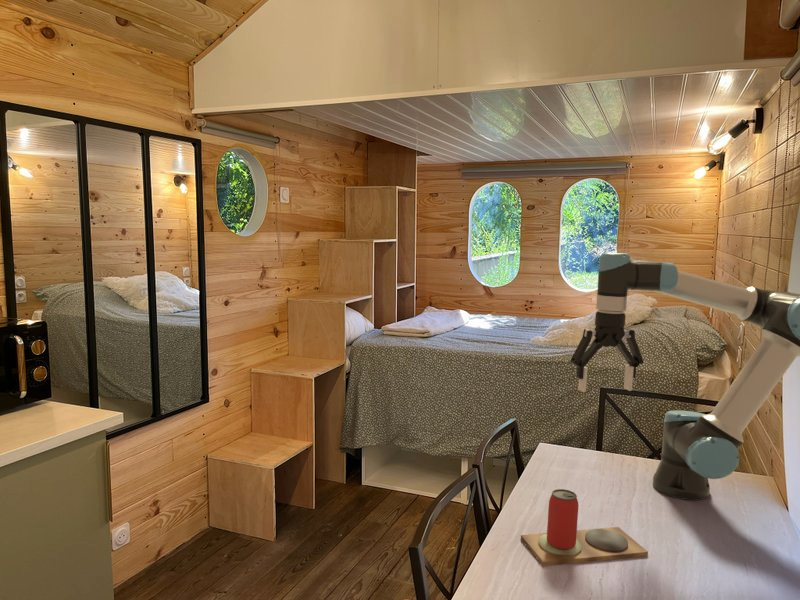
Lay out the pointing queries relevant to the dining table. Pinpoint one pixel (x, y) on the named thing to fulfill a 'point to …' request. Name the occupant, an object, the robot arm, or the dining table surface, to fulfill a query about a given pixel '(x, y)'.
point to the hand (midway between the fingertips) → (605, 390)
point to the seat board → (585, 547)
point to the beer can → (562, 519)
